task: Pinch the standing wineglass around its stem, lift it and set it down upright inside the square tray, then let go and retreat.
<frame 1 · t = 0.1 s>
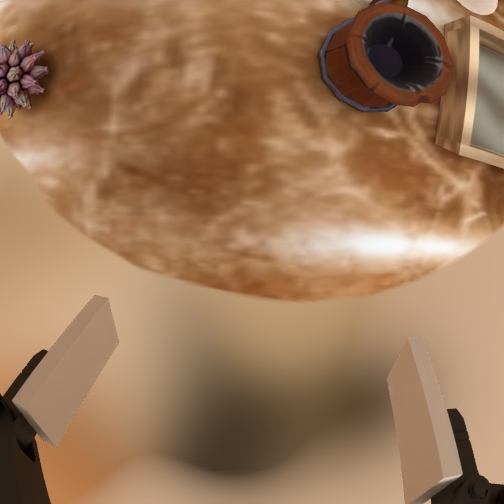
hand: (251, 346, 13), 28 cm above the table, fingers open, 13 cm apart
flower: (39, 76, 34), on the table
brown pitcher: (370, 40, 28), on the table
square tray: (489, 99, 28), on the table
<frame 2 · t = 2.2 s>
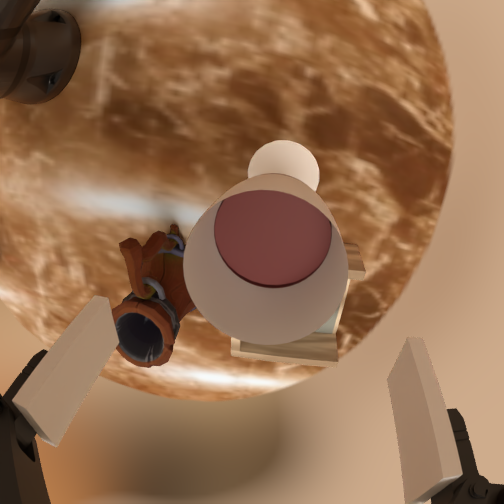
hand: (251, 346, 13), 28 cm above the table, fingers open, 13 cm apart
brown pitcher: (176, 255, 45), on the table
wineglass: (283, 174, 38), on the table
square tray: (293, 289, 45), on the table
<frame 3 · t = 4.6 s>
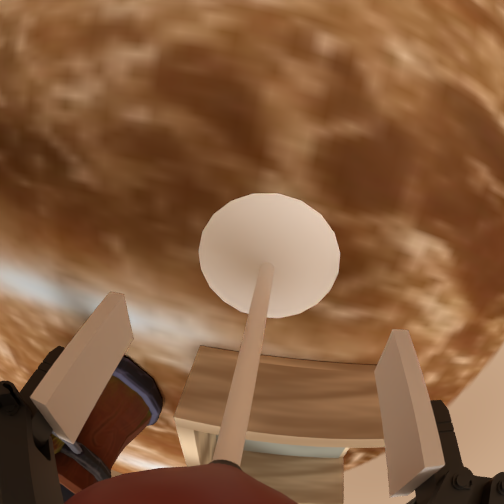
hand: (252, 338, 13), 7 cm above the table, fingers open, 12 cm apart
brown pitcher: (109, 360, 27), on the table
wineglass: (268, 260, 20), on the table
square tray: (284, 415, 27), on the table
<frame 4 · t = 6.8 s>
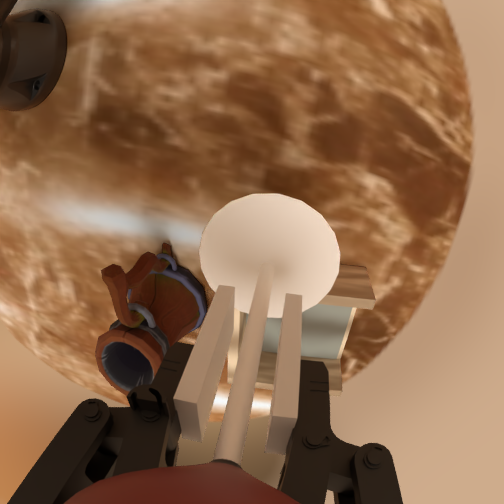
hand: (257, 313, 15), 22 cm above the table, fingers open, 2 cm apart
brown pitcher: (170, 275, 42), on the table
wineglass: (268, 260, 20), point 16 cm above the table, touching hand
square tray: (295, 313, 41), on the table
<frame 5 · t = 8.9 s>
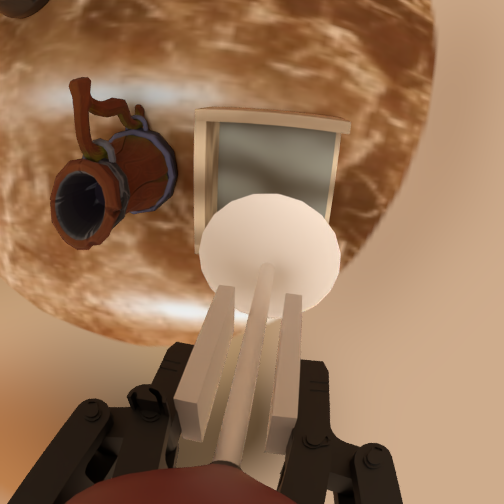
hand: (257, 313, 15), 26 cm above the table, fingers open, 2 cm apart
brown pitcher: (141, 145, 38), on the table
wineglass: (268, 260, 20), point 20 cm above the table, touching hand
square tray: (271, 175, 38), on the table
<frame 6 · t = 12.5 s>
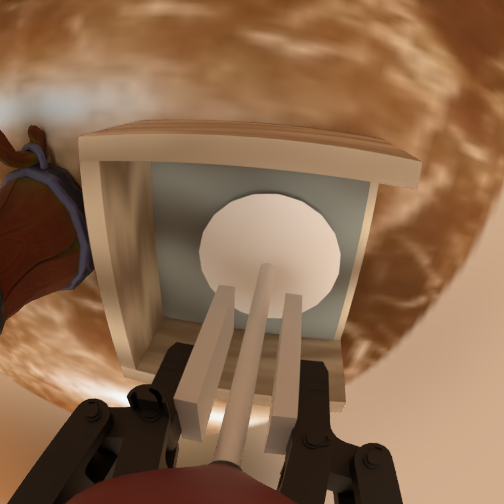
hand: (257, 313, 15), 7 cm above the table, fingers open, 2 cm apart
brown pitcher: (48, 188, 22), on the table
wineglass: (269, 260, 20), point 2 cm above the table, touching hand
square tray: (249, 244, 21), on the table
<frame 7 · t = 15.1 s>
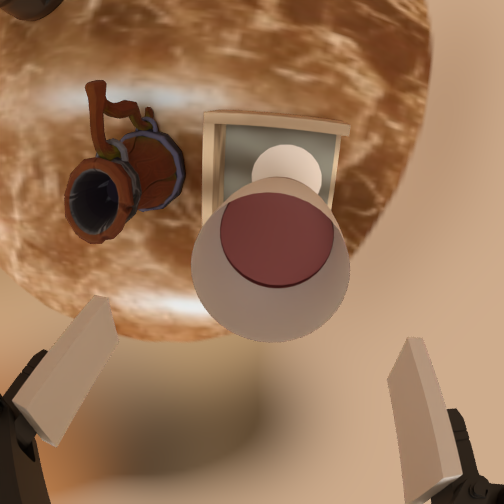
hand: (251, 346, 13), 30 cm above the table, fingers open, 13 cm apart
brown pitcher: (150, 145, 40), on the table
wineglass: (286, 178, 39), point 1 cm above the table, touching square tray
square tray: (275, 175, 40), on the table
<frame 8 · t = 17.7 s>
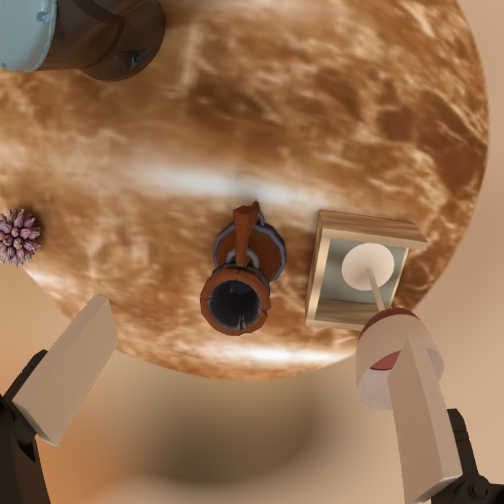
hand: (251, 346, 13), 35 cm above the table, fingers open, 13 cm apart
flower: (34, 225, 55), on the table
brown pitcher: (253, 232, 49), on the table
wineglass: (368, 267, 48), point 1 cm above the table, touching square tray
square tray: (358, 263, 49), on the table
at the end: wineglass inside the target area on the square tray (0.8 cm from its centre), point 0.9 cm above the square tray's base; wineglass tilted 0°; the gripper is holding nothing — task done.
